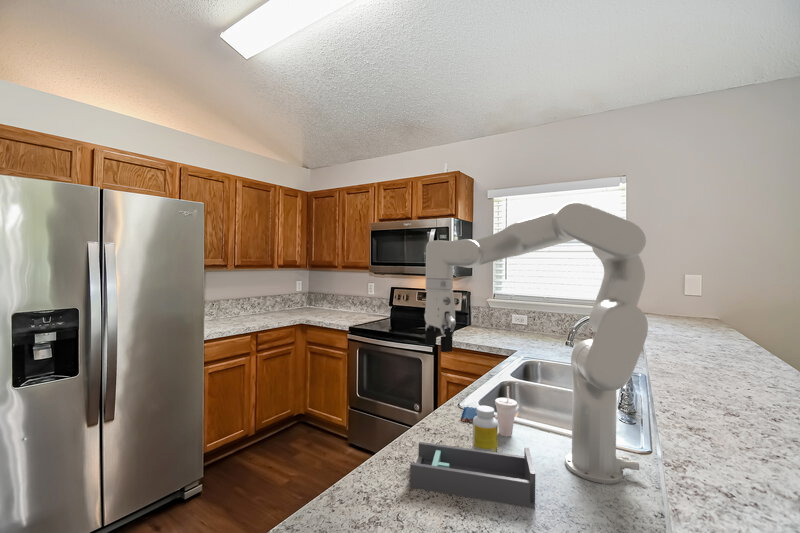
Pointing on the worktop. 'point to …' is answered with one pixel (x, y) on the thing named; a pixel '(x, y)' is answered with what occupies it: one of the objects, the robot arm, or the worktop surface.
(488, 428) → the pill bottle
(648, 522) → the worktop surface
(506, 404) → the smoothie
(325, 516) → the worktop surface
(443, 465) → the pusher paddle
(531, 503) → the tray
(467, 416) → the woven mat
